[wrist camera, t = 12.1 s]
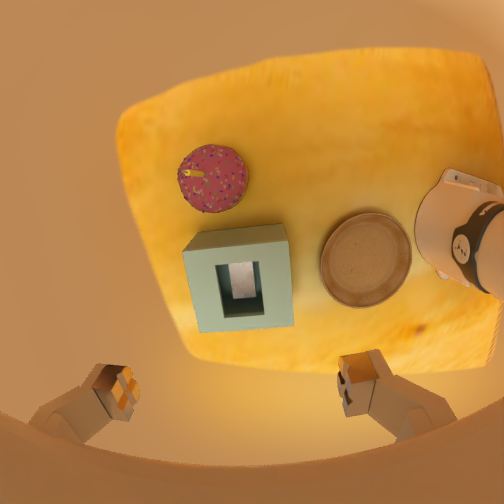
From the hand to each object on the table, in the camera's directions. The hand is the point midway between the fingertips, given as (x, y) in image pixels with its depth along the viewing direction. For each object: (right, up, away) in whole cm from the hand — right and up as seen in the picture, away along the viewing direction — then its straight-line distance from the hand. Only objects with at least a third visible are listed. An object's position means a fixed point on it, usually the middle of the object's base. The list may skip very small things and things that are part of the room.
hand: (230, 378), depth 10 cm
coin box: (0, +3, +32) cm, 32 cm away
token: (0, +3, +31) cm, 31 cm away
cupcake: (-4, +15, +28) cm, 32 cm away
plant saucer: (+18, +4, +31) cm, 36 cm away
